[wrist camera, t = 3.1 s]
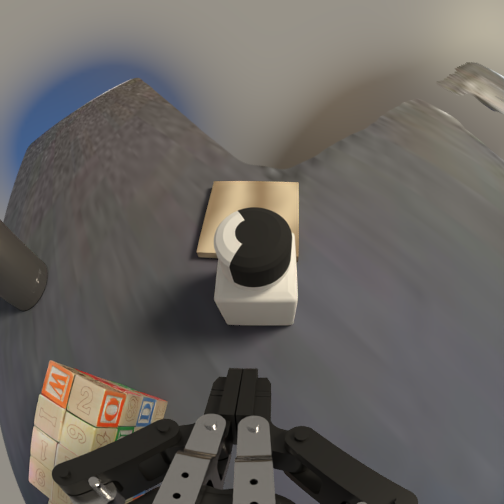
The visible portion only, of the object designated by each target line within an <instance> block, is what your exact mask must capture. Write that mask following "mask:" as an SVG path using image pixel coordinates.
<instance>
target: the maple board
mask: <svg viewBox="0 0 504 504" xmlns="http://www.w3.org/2000/svg"><path fill="white" fill-rule="evenodd" d="M250 207H259V208H265V209H268V210H271V211H273V212H276V213H277V214H279V215H280V216H281V217H283V218H284V219H285V221H286V222H287V223H288V225H289V227H290V229H291V232H292V233H294V235H295V248H296V262H298V247H299V188H298V182H264V181H214V184H213V188H212V192H211V195H210V199H209V203H208V207H207V211H206V215H205V219H204V223H203V227H202V231H201V235H200V239H199V243H198V248H197V254H198V257H204V258H218V257H217V255H216V252H215V249H214V235H215V232H216V230H217V228H218V226H219V225H220V223H221V222H222V221H223V220H224V219H225V218H226V217H227V216H229V215H230V214H232V213H234V212H236V211H238V210H241V209H244V208H250Z"/></svg>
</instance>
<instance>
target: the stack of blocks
mask: <svg viewBox="0 0 504 504" xmlns="http://www.w3.org/2000/svg"><path fill="white" fill-rule="evenodd" d="M166 406H167V401H165V400H162V399H159V398H157V397H154V396H151V395H148V394H145V393H142V392H139V391H137V390H134V389H132V388H129V387H127V386H124V385H122V384H119V383H116V382H112V381H109V380H105V379H102V378H99V377H96V376H93V375H91V374H88V373H86V372H82V371H79V370H77V369H74V368H70V367H67V366H64V365H62V364H59V363H57V362H54V361H52V360H50V362H49V366H48V369H47V373H46V377H45V380H44V384H43V388H42V394H40V395H39V399H38V403H37V408H36V414H35V420H34V425H35V426H34V427H33V433H32V441H31V450H30V453H31V456H30V466H29V482H30V483H31V484H33V485H34V486H35V487H36V488H37V489H38V490H40V491H41V492H42V493H43V494H45V495H46V496H47V497H48V498H49V501H48V504H73V503H72V501H71V499H70V497H69V496H68V495H67V494H66V493H65V492H64V491H63V490H62V488H61V487H60V486H59V485H58V484H57V483H56V482H55V481H54V480H53V478H52V470H53V468H54V467H55V466H56V465H58V464H60V463H62V462H65V461H68V460H71V459H73V458H76V457H78V456H81V455H83V454H86V453H88V452H91V451H93V450H96V449H98V448H100V447H103V446H105V445H107V444H110V443H112V442H114V441H116V440H118V439H121V438H123V437H125V436H127V435H129V434H131V433H133V432H135V431H137V430H139V429H141V428H143V427H145V426H147V425H149V424H151V423H153V422H155V421H157V420H160V419H163V417H164V413H165V410H166ZM144 494H145V491H143V492H141V493H139V494H137V495H135V496H133V497H131V498H129V499H127V500H125V504H127V503H129V502H131V501H133V500H134V499H136V498H138V497H140V496H142V495H144Z"/></svg>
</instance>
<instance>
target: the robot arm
mask: <svg viewBox="0 0 504 504" xmlns="http://www.w3.org/2000/svg"><path fill="white" fill-rule="evenodd" d="M46 282H47V267H46V265H45V263H44V262H43V261H42V260H41V259H39V258H38V257H37V256H36V255H35V254H34V253H33V252H32V251H31V250H30V249H29V248H28V247H27V246H26V245H25V244H24V243H23V242H22V241H21V240H20V239H19V238H18V237H17V236H16V235H15V234H14V233H13V232H12V231H11V230H10V229H9V228H8V227H7V226H6V225H5V224H4V223H3V222H2V221H1V220H0V297H1V298H3V299H4V300H6V301H7V302H9V303H10V304H12V305H13V306H15V307H16V308H18V309H20V310H28V309H30V308H31V307H33V306H34V305H35V304H36V303H37V301H38V300H39V299H40V297H41V295H42V294H43V291H44V289H45V286H46ZM233 444H236V445H237V457H236V458H235V468H234V488H233V489H225V490H223V485H224V481H225V477H226V474H227V470H228V467H229V463H230V460H231V451H232V446H233ZM273 468H275V469H279V470H283V471H284V473H285V474H286V475H287V476H288V477H289V478H290V479H291V480H292V481H294V482H295V483H296V484H297V485H298V486H299V487H300V488H302V489H303V490H304V491H305V492H306V493H308V494H309V495H310V496H311V497H313V498H314V499H315V500H316V501H318V502H319V503H320V504H418V499H417V497H416V496H415V494H414V493H412V492H410V491H408V490H407V489H405V488H403V487H401V486H399V485H397V484H396V483H394V482H392V481H390V480H389V479H387V478H385V477H384V476H382V475H380V474H379V473H377V472H375V471H374V470H372V469H370V468H369V467H367V466H366V465H364V464H362V463H361V462H359V461H358V460H356V459H355V458H353V457H352V456H350V455H349V454H347V453H346V452H344V451H343V450H341V449H340V448H338V447H337V446H335V445H334V444H332V443H331V442H330V441H328V440H327V439H325V438H324V437H323V436H321V435H320V434H318V433H317V432H316V431H314V430H313V429H311V428H309V427H305V426H298V427H294V428H292V429H290V430H289V431H287V430H283V429H279V428H277V427H276V426H274V425H273V424H272V422H271V383H270V382H269V380H268V378H258V369H239V368H229V370H228V374H227V377H219V378H218V379H217V380H216V381H215V382H214V383H213V386H212V391H211V393H210V396H209V400H208V403H207V406H206V410H205V413H204V415H203V416H201V417H200V418H198V420H197V421H196V423H194V424H190V425H183V426H178V424H177V423H176V422H175V421H173V420H170V419H160V420H157V421H155V422H153V423H151V424H149V425H147V426H145V427H143V428H141V429H139V430H137V431H135V432H133V433H131V434H129V435H127V436H125V437H123V438H121V439H118V440H116V441H114V442H112V443H110V444H107V445H105V446H103V447H100V448H98V449H96V450H93V451H91V452H88V453H86V454H83V455H81V456H78V457H76V458H73V459H71V460H68V461H65V462H62V463H60V464H58V465H56V466H55V467H54V468H53V470H52V478H53V480H54V481H55V482H56V483H57V484H58V485H59V486H60V487H61V488H62V490H63V491H64V492H65V493H66V494H67V495H68V496H69V497H70V499H71V501H72V503H73V504H125V500H127V499H129V498H131V497H133V496H135V495H137V494H139V493H141V492H143V491H145V490H147V489H149V488H151V487H153V486H155V485H157V484H158V483H160V482H162V481H163V482H162V484H161V486H160V487H157V488H155V489H153V490H151V491H149V492H147V493H145V494H144V495H142V496H140V497H138V498H136V499H134V500H133V501H131V502H129V503H127V504H295V503H294V502H292V501H291V500H289V499H287V498H286V497H283V496H281V495H278V494H275V489H274V475H273Z"/></svg>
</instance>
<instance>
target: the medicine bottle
mask: <svg viewBox="0 0 504 504" xmlns="http://www.w3.org/2000/svg"><path fill="white" fill-rule="evenodd" d="M214 249H215V252H216V255H217V257H218V266H217V275H216V284H215V294H214V301H215V303H216V305H217V307H218V308H219V310H220V312H221V314H222V316H223V318H224V319H225V321H226V323H227V324H228V325H292V324H293V322H294V317H295V312H296V306H297V300H298V291H297V268H296V248H295V235H294V233H292V232H291V229H290V227H289V225H288V223H287V222H286V221H285V219H284V218H283V217H281V216H280V215H279V214H277V213H276V212H273V211H271V210H268V209H265V208H259V207H250V208H244V209H241V210H238V211H236V212H234V213H232V214H230V215H229V216H227V217H226V218H225V219H224V220H223V221H222V222H221V223H220V225H219V226H218V228H217V230H216V232H215V235H214Z"/></svg>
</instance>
